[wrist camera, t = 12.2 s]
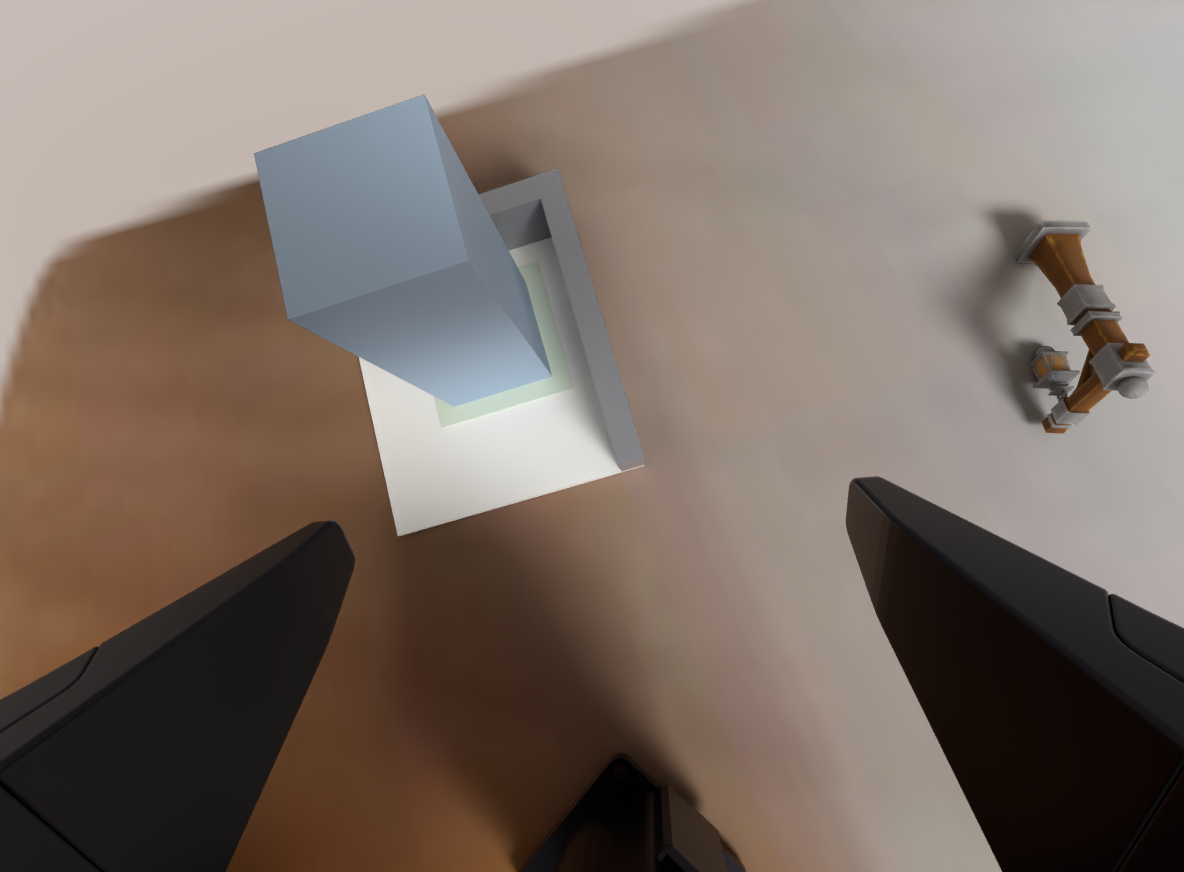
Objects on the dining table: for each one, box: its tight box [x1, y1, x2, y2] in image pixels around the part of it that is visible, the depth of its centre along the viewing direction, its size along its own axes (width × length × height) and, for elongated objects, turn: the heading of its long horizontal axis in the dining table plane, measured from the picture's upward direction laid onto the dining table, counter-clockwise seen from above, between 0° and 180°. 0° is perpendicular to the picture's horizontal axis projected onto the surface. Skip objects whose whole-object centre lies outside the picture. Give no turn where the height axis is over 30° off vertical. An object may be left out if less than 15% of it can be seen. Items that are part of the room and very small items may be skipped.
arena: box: [359, 168, 645, 536], centre depth 22 cm, size 12×11×4 cm
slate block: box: [254, 95, 552, 407], centre depth 18 cm, size 5×4×11 cm
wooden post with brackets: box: [1015, 220, 1156, 433], centre depth 21 cm, size 2×8×4 cm, turn 176°
